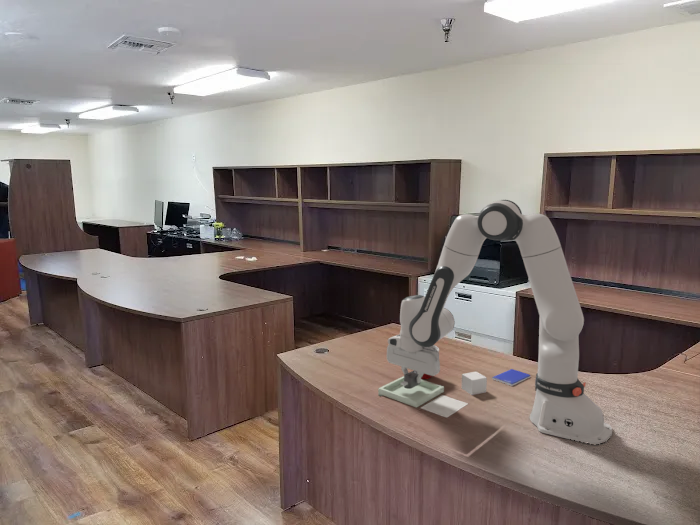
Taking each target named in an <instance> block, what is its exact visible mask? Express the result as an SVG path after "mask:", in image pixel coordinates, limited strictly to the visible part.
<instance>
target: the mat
mask: <svg viewBox="0 0 700 525" xmlns="http://www.w3.org/2000/svg"><path fill="white" fill-rule="evenodd" d="M467 405H469V403H468V402H465V401H462V400H459V399H456V398H453V397H450V396H447V395H444V394H440V395H439V396H437V397H435V399H432V400H430V401H428V402H427V403H426V404H423V405H421V407H420V409H422V410H424V411H427V412H430V413H433V414H436V415H438V416H441V417H444V418H449V417H451V416H452V415H453V414H455V413H457V412H458V411H460V410H462V409H463V408H464V407H466V406H467Z"/></svg>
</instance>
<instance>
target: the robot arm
mask: <svg viewBox="0 0 700 525" xmlns="http://www.w3.org/2000/svg"><path fill="white" fill-rule="evenodd" d="M486 239H489V240H493V241H514V242H516V244H517V246H518V248H519V251H520V255H521V258H522V260H523V265H524V268H525V271H526V274H527V277H528V281H529V284H530V288H531V292H532V295H533V298H534V301H535V304H536V305H535V306H536V309H537V312H538V315H539V319H538V320H539V326H538V328H539V329H538V335H539V336H538V359H537V360H538V361H537V373H536V374H535V381H534V388H535V389H534V391H535V397H534V401H533V406H532V409H531V412H530V414H529V420H530V421H531V423H532V424H533V425H535V427H537V429H538V431H539V432H540V433H542V434H547V435H550V436H555V437H558V438H563V439H566V440H570V439H571V440H570V441H574V440H575V442H579V441H581V442H580V443H583V442H588V443H591V444H599V443H602V442H605V441H606V442H608V441H609V440H610V439H611V437H612V435H613V427H612V426H611V424H610V423H607V422H605V417H604V412H603V410H602V408H601V407H600V406H599V405H598V404H596V403H595V402H594V401H593V399H591V398H590V397H589V396H588V395H587V394H585V393H584V392H585V387H586V382H585V381H584V382H583V383H582V382H581V381H580V379H579V377H578V376H579V364H580V363H579V361H580V345H579V344H580V343H579V342H580V341H579V335H580V333H581V332H582V329H583V326H584V324H585V323H584V322H585V317H584V314H583V310H582V308H581V304H580V302H579V298H578V295H577V292H576V288H575V286H574V282H573V279H572V277H571V273H570V271H569V268H568V267H569V266H568V264H567V260H566V257H565V255H564V251H563V248H562V245H561V242H560V241H561V240H560V239H559V236H558V234H557V232H556V229H555V227H554V226H553V224H552V221H551V220H550V218H549V217H548V216H547V215H545V214H542V213H531V214H523V213H522V210H521V208H520V207H519V205H518V204H517V203H515V202H514V201H512V200H509V199H499V200H495V201H492V202H490V203H489V204H487V205H486V206H484V207H483V208H482V209H481V211H480V212H479V214H478V215H474V214H470V213H463V214H460V215H458V216H457V217H456V218H455V219H454V221H453V223H452V224H451V227H450V228H449V230H448V233H447V235H446V237H445V241H444V244H443V246H442V250H441V252H440V256H439V259H438V263H437V265H436V269H435V272H434V274H433V276H432V278H431V282H430V284H429V286H428V289H427V291H426V293H425V296H424V295H421V294H414V295H410V296H409V295H408V296H406V297H405V298H403V299H402V300H401V303H400V309H399V310H400V311H399V312H400V313H399V324H400V331H399V334H396V335H394V336H391V337H389V338H388V339H387V344H388V345H387V347H386V360H387V363H389V364H392V365H395V366H400V367H401V372H402V374H403V376H404V375H405V374H407V373H409V370H412V371H414V370H415V371H417V374H419V375H418V376H417V377H415V382H416V383H420V382H421V377H422V376H423V374H428V375H431V376H432V377H433V376H434V377H435V376H437V375H438V374H439V373H440V372H441V363H440V351H439V352H438V351H437V350H436V349H435V348H434V347H431V346H433V345H435V344H436V343H437V342H439V341H440V340H441V339H443V338H445V337H446V336H447V335H448V334H450V333H451V332H452V331H453V330H454V328H455V323H456V322H455V318H454V315H453V314H452V312H451V311H450V310H449V309H448V308H445V306H446V302H447V300H448V297H449V296H450V294H451V292H452V291H453V289H454V288H455V287H456V286H457V285H458V284H459V283H460V282H462V281H463V280H465V279H466V278H467V277H468V276H469V275H470V274H471V272H472V270H473V269H474V267H475V265H476V263H477V261H478V258H479V255H480V252H481V249H482V246H483V244H484V242H485V240H486ZM610 436H611V437H610ZM609 438H610V439H609ZM608 439H609V440H608ZM607 440H608V441H607ZM606 442H605V443H606ZM591 444H590V445H591ZM599 445H600V444H599Z"/></svg>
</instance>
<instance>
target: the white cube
mask: <svg viewBox="0 0 700 525" xmlns="http://www.w3.org/2000/svg"><path fill="white" fill-rule="evenodd" d="M487 380H488V377H486V376H485V375H484V374H481V373H479V372H478V371H471V372H467V373H466V372H465V373H462V374H461V389H462V390H463V391H465V392H466V393H467V394H469V395H471V396H474V395H480V394H483V393H484V394H485V393H487Z"/></svg>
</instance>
